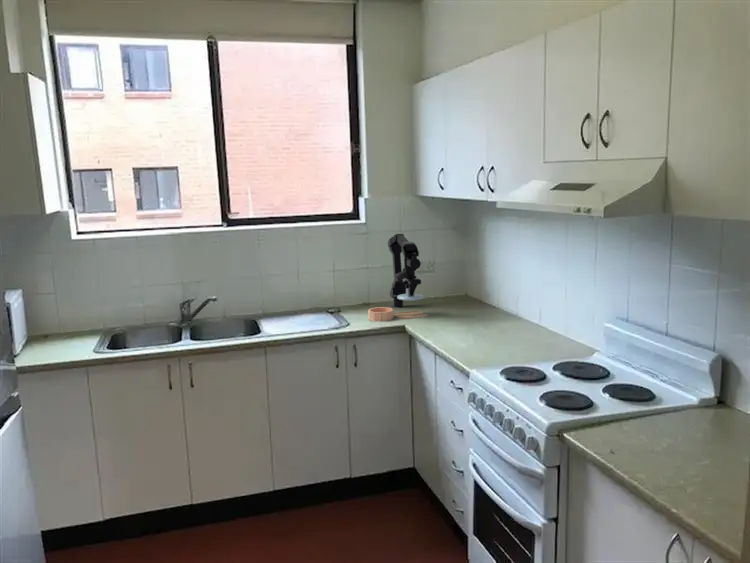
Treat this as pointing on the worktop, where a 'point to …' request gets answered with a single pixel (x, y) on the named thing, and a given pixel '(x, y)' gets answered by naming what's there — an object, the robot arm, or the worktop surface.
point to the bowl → (380, 314)
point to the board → (410, 315)
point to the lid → (408, 297)
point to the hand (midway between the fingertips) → (410, 295)
